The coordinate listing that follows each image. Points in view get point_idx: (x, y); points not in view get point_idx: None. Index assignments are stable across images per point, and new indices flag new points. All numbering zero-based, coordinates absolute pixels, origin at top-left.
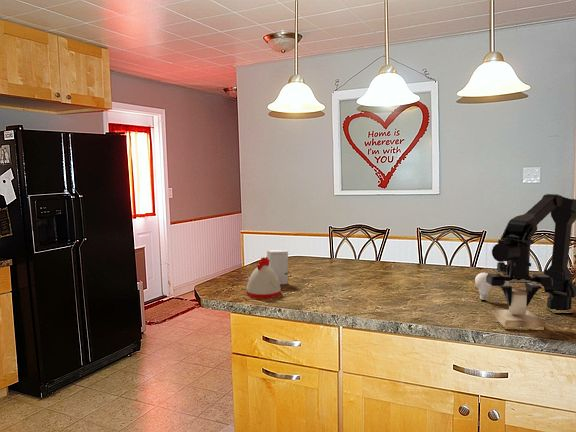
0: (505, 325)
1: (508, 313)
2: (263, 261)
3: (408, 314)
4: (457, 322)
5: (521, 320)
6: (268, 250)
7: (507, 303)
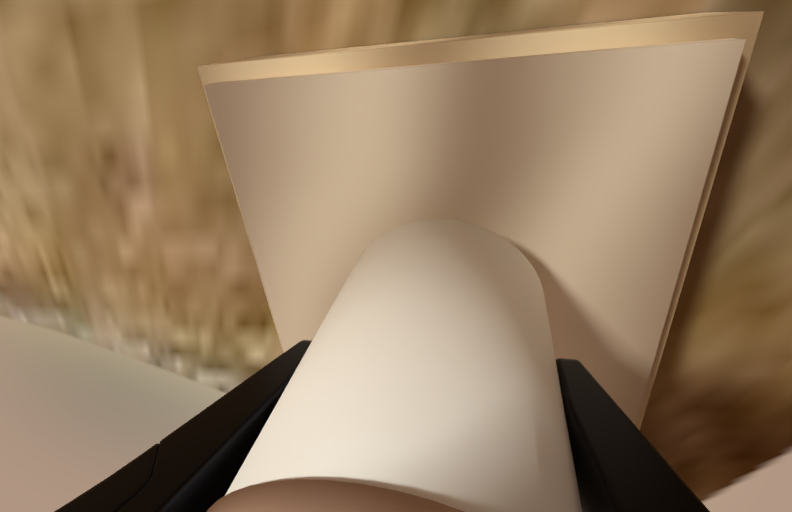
0: None
1: (362, 240)
2: None
3: None
4: (21, 219)
5: None
6: None
7: (285, 356)
